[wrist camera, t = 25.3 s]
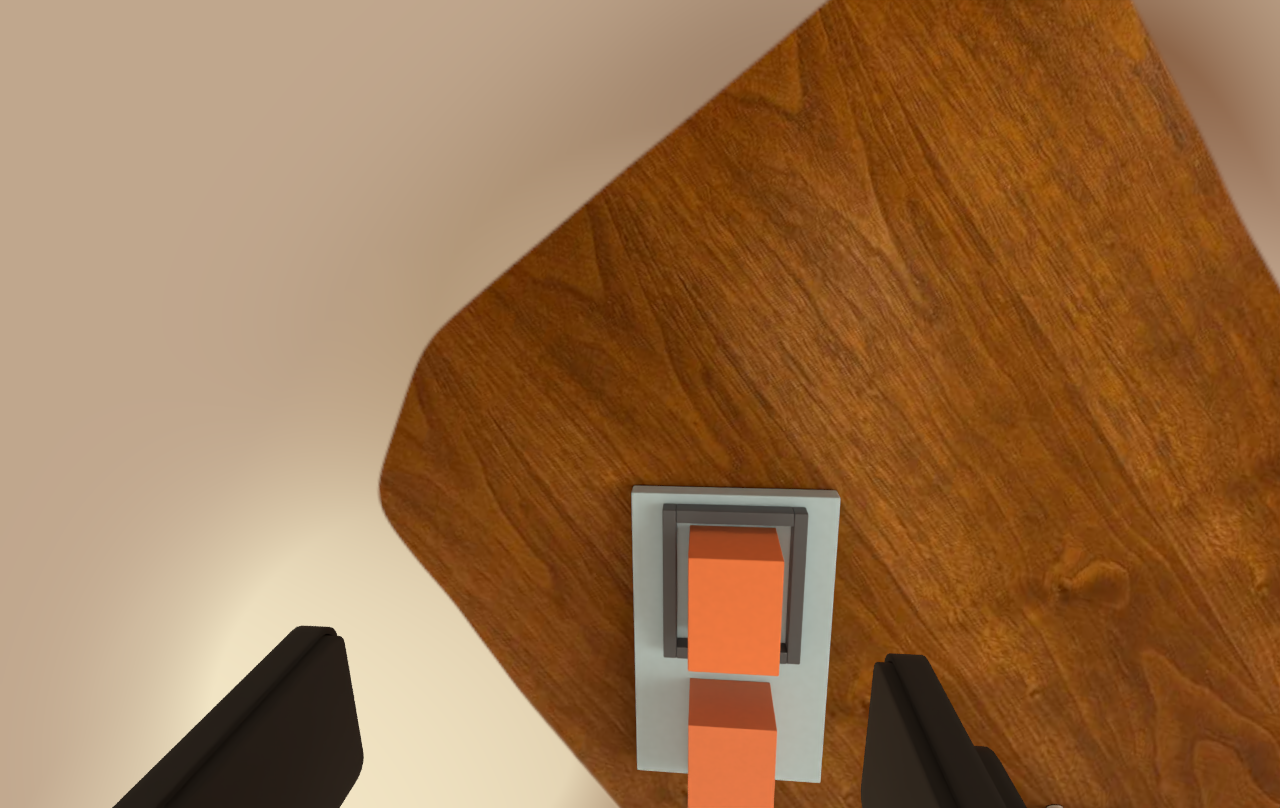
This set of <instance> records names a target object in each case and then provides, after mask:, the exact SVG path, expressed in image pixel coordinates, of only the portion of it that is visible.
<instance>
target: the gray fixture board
mask: <svg viewBox="0 0 1280 808" xmlns="http://www.w3.org/2000/svg"><path fill="white" fill-rule="evenodd" d="M631 504H632V550H633V597H634V643H635V689H636V736H637V769H638V770H648V771H662V772H675V773H688V808H774V787H775V780H786V781H800V782H814V783H820V779H821V765H822V751H823V737H824V723H825V709H826V695H827V681H828V667H829V653H830V639H831V625H832V611H833V596H834V582H835V568H836V554H837V540H838V526H839V512H840V497H839V495H838V493H837V491H836V490H802V489H760V488H718V487H676V486H633V489H632V493H631ZM690 525H700V526H732V527H765V528H776V531H777V535H778V539H779V543H780V547H781V551H782V555H783V559H784V581H783V602H782V623H781V644H780V665H779V676H764V675H746V674H728V673H710V672H691V671H688V552H689V533H690Z"/></svg>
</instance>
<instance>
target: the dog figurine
mask: <svg viewBox="0 0 1280 808" xmlns="http://www.w3.org/2000/svg"><path fill="white" fill-rule="evenodd" d="M1046 808H1063V807H1062V806H1060V805H1051V806H1048V807H1046Z"/></svg>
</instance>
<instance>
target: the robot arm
mask: <svg viewBox="0 0 1280 808" xmlns="http://www.w3.org/2000/svg"><path fill="white" fill-rule="evenodd" d="M363 758H364V757H363V748H362V742H361V736H360V730H359V725H358V719H357V713H356V707H355V701H354V695H353V689H352V683H351V677H350V671H349V666H348V660H347V654H346V648H345V643H344V639H343V638H342V637H340V636H337V633H336V631H335V630H334V629H333V628H331V627H318V626H299V627H296V628H295V629H294V630H292V631H291V632H290V633H289V634H288V635H287V636H286V637H285V638H284V639H283V640H282V641H281V642H280V643H279V644H278V645H277V646H276V647H275V648H274V649H273V650H272V651H271V652H270V653H269V654H268V655H267V656H266V657H265V658H264V659H263V660H262V661H261V662H260V663H259V664H258V665H257V666H256V667H255V668H254V669H253V670H252V671H251V672H250V673H249V674H248V675H247V676H246V677H245V678H244V679H243V680H242V681H241V682H240V683H239V684H238V685H236V686H235V687H234V689H233V690H231V691H230V693H228V694H227V695H226V696H225V697H224V698H223V699H222V700H221V701H220V702H219V703H218V704H217V705H216V706H215V707H214V708H213V709H212V710H211V711H210V712H209V713H208V714H207V715H206V716H205V717H204V718H203V719H202V720H201V721H200V722H199V723H198V724H197V725H196V726H195V727H194V728H193V729H192V730H191V731H190V732H189V733H188V734H187V735H186V736H185V737H184V738H183V739H182V740H181V741H180V742H179V743H178V744H177V745H176V746H175V747H174V748H172V749H171V751H169V753H167V754H166V755H165V756H164V758H162V759H161V760H160V761H159V762H158V763H157V764H156V765H155V766H154V767H153V768H152V769H151V770H150V771H149V772H148V773H147V774H146V775H145V776H144V777H143V778H142V779H141V780H140V781H139V782H138V783H137V784H136V785H135V786H134V787H133V788H132V789H131V790H130V791H129V792H128V793H127V794H126V795H125V796H124V797H123V798H122V799H121V800H120V801H119V802H118V803H117V804H116V805H115V806H114V807H113V808H340V806H341V805H342V803H343V801H344V800H345V798H346V797H347V795H348V793H349V792H350V790H351V789H352V787H353V785H354V784H355V782H356V780H357V779H358V777H359V775H360V772H361V769H362V765H363ZM861 800H862V808H1026V806H1025V804H1024V802H1023V800H1022V799H1021V797H1020V795H1019V793H1018V792H1017V790H1016V788H1015V786H1014V785H1013V783H1012V781H1011V779H1010V778H1009V776H1008V774H1007V772H1006V771H1005V769H1004V767H1003V765H1002V764H1001V762H1000V760H999V759H998V757H997V756H996V755H995V753H994V752H993V751H992V750H991V749H989V748H988V747H983V746H974V745H973V744H972V742H971V740H970V738H969V736H968V734H967V732H966V731H965V729H964V727H963V725H962V723H961V721H960V719H959V717H958V716H957V714H956V712H955V710H954V708H953V706H952V704H951V703H950V701H949V699H948V697H947V695H946V693H945V691H944V689H943V688H942V686H941V684H940V682H939V680H938V678H937V676H936V674H935V673H934V671H933V669H932V667H931V665H930V663H929V661H928V660H927V658H926V657H925V656H923V655H910V654H887V656H886V658H885V663H884V662H877V663H875V665H874V671H873V680H872V690H871V699H870V708H869V718H868V727H867V737H866V746H865V755H864V765H863V774H862V784H861Z"/></svg>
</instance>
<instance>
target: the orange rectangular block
mask: <svg viewBox="0 0 1280 808" xmlns="http://www.w3.org/2000/svg"><path fill="white" fill-rule="evenodd" d="M783 581H784V559H783V555H782V551H781V547H780V543H779V539H778V535H777V531H776V528H765V527H732V526H700V525H690V533H689V552H688V671H691V672H710V673H728V674H746V675H764V676H779V665H780V644H781V623H782V602H783Z"/></svg>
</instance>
